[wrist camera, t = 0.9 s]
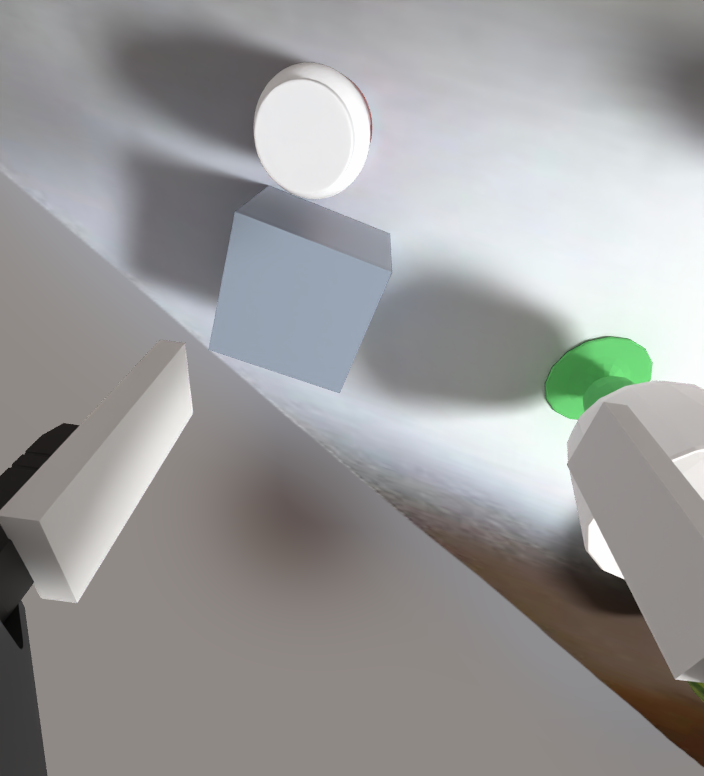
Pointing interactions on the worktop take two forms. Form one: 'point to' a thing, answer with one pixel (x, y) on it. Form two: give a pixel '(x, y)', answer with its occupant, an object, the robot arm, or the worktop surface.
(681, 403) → the cup
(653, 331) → the worktop surface
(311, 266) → the pale blue block
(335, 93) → the pill bottle
